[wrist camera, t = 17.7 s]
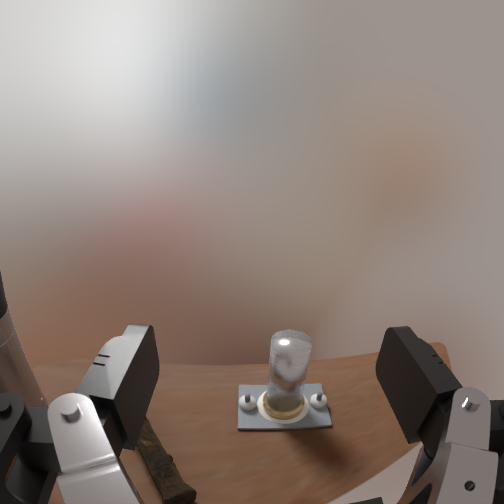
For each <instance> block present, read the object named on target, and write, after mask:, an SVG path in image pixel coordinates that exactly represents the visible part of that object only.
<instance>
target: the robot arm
mask: <svg viewBox="0 0 504 504" xmlns="http://www.w3.org/2000/svg"><path fill="white" fill-rule="evenodd" d="M158 376H159V358H158V352H157V347H156V340H155V334H154V329H153V327H152V326H151V325H141V324H129V326H128V327H127V329H126V331H125V332H124V334H123V335H122V337H117V336H115V337H114V338H113V339H111V340H110V341H108V342H107V343H106V344H105V345H104V346H103V348H102V349H101V351H100V352H99V354H98V356H97V357H96V359H95V360H94V362H93V364H92V365H91V366H90V368H89V370H88V371H87V373H86V375H85V376H84V378H83V379H82V381H81V383H80V384H79V386H78V388H77V389H76V391H75V393H69V394H65V395H62V396H60V397H58V398H56V399H55V400H54V401H53V402H52V403H51V404H50V406H49V407H47V402H46V399H45V397H44V395H43V393H42V391H41V389H40V387H39V385H38V383H37V381H36V379H35V376H34V374H33V372H32V370H31V367H30V365H29V363H28V360H27V358H26V356H25V353H24V351H23V348H22V345H21V343H20V340H19V338H18V335H17V332H16V329H15V326H14V324H13V321H12V318H11V314H10V311H9V308H8V305H7V301H6V298H5V294H4V288H3V282H2V277H1V272H0V504H48V501H49V498H50V495H51V492H52V489H53V486H54V484H55V481H56V478H57V479H58V483H59V487H60V490H61V493H62V496H63V498H64V501H65V504H144V502H143V500H142V499H141V497H140V495H139V493H138V492H137V490H136V488H135V487H134V485H133V483H132V481H131V479H130V477H129V476H128V474H127V472H126V470H125V468H124V466H123V464H122V462H121V460H120V458H119V456H120V453H121V451H122V448H124V449H129V450H134V449H135V446H136V443H137V440H138V437H139V434H140V430H141V427H142V424H143V421H144V418H145V415H146V412H147V409H148V406H149V403H150V400H151V397H152V394H153V391H154V389H155V386H156V383H157V380H158ZM376 376H377V379H378V381H379V383H380V385H381V387H382V389H383V391H384V393H385V395H386V397H387V399H388V401H389V403H390V405H391V407H392V409H393V411H394V413H395V416H396V418H397V420H398V422H399V424H400V426H401V428H402V431H403V433H404V435H405V437H406V439H407V441H408V444H411V443H415V442H419V441H422V443H423V446H422V448H421V449H420V451H419V454H418V457H417V460H416V463H415V466H414V469H413V472H412V474H411V477H410V479H409V482H408V484H407V487H406V490H405V491H404V494H403V495H402V497H401V499H400V500H399V501H398V503H397V504H504V400H489V399H488V397H487V396H486V395H485V394H484V393H483V392H481V391H480V390H478V389H475V388H471V387H464V388H463V387H462V385H461V384H460V383H459V381H458V380H457V379H456V377H455V376H454V375H453V373H452V372H451V371H450V369H449V368H448V367H447V366H446V364H443V360H442V359H441V358H440V357H439V356H438V354H437V353H436V351H435V350H434V349H433V348H432V346H431V345H429V344H428V343H426V342H425V341H423V340H422V339H420V338H418V337H417V336H416V335H415V333H414V332H413V331H412V330H411V328H410V327H408V326H403V327H390V328H388V329H387V330H386V332H385V335H384V339H383V342H382V346H381V349H380V352H379V355H378V359H377V362H376ZM15 455H16V456H17V459H16V461H15V463H14V465H13V467H12V470H11V472H10V474H9V476H8V479H7V481H6V483H5V476H6V473H7V471H8V469H9V467H10V465H11V463H12V460H13V458H14V456H15ZM58 473H60V474H58ZM350 504H383V501H382V498H381V497H378V498H375V499H370V500H366V501H361V502H356V503H350Z"/></svg>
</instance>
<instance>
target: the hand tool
mask: <svg viewBox="0 0 504 504" xmlns="http://www.w3.org/2000/svg"><path fill="white" fill-rule="evenodd" d="M137 444H138V447H139V449H140V451H141V453H142V456H143V458H144V460H145V462H146V464H147V466H148V468H149V471H150V473H151V475H152V477H153V479H154V481H155V483H156V485H157V487H158V488H159V490H160V492H161V493H162V495H163V497H164V498H163V504H190V503H192V502H193V501H194V500H195V499H196V494H197V493H196V491H195V490H194V489H193V488H191V487H190V486H189V485H187V484H186V483H185V482H184V481H183V480H182V478H181V476H180V474H179V472H178V470H177V468H176V465H175V464H174V463H173V458H172V456H171V455H170V454H167V453H166V451H165V450H164V448H163V447H162V445H161V443H160V441H159V439H158V438H157V436H156V434H155V433H154V431H153V429H152V427H151V425H150V423H149V421H148V419H147V418H146V415H145V418H144V421H143V424H142V427H141V430H140V434H139V437H138V440H137Z"/></svg>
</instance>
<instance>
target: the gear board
mask: <svg viewBox="0 0 504 504" xmlns="http://www.w3.org/2000/svg"><path fill="white" fill-rule="evenodd" d="M267 388H268V385H239V403H238V430H282V429H304V428H318V427H329V426H332V423H331V419H330V415H329V412H328V408H327V404H326V401H327V398H326V396H324V394H323V390H322V386H321V383H319V384H305V385H304V390H303V396H304V399H305V403H304V408H303V411H302V412H301V414H300V415H298V416H297V417H295V418H293V419H289V420H279V419H275V418H273V417H271V416H269V415H268V414H267V413H266V412H265V411H264V409H263V396H264V394H265V393H266V392H267Z"/></svg>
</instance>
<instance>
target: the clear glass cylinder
mask: <svg viewBox="0 0 504 504" xmlns="http://www.w3.org/2000/svg"><path fill="white" fill-rule="evenodd" d="M311 344H312V341H311V338H310V337H309V336H308V335H307V334H305V333H303V332H301V331H297V330H283V331H279V332H277V333H275V334H274V335H273V336H272V339H271V351H270V363H269V376H268V388H267V392H266V393H265V394H264V396H263V409H264V411H265V412H266V413H267V414H268V415H269V416H271V417H273V418H275V419H279V420H289V419H293V418H295V417H297V416H298V415H300V414H301V412H302V411H303V408H304V403H305V399H304V396H303V390H304V385H305V379H306V374H307V368H308V362H309V356H310V351H311Z"/></svg>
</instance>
